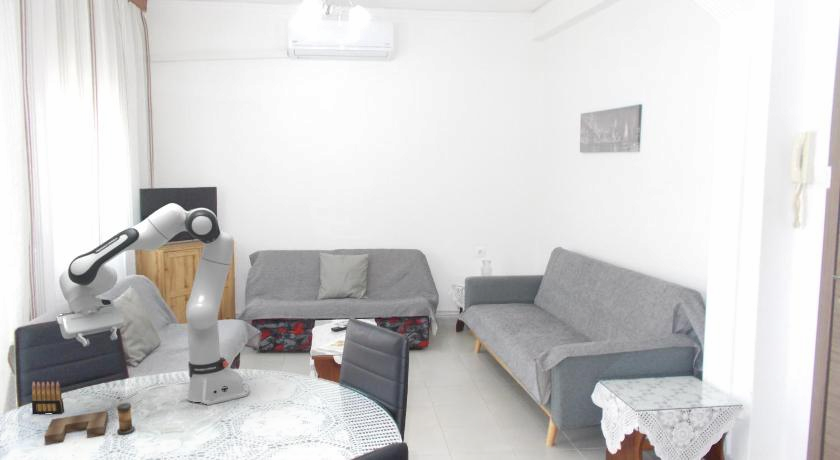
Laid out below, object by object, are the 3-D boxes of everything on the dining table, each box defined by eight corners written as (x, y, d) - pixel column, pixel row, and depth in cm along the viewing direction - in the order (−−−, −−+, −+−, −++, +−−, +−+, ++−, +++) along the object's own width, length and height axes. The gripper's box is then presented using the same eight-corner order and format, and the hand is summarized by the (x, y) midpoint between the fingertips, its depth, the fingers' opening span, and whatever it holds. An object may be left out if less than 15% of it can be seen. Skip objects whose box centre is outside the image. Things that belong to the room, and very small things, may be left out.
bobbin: (135, 427, 212) (132, 401, 211) (134, 433, 207) (132, 407, 206) (118, 429, 210) (115, 404, 209) (116, 436, 206) (114, 409, 204)
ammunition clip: (32, 414, 225) (29, 382, 224) (35, 412, 227) (32, 380, 225) (61, 414, 225) (58, 382, 223) (64, 412, 226) (61, 380, 225)
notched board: (108, 418, 219) (107, 410, 219) (104, 435, 206) (103, 426, 206) (52, 427, 213) (51, 419, 213) (45, 444, 200) (44, 436, 200)
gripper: (57, 309, 208) (72, 343, 203) (117, 299, 224) (132, 330, 220) (51, 320, 211) (66, 354, 206) (111, 309, 228) (126, 340, 223)
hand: (101, 342), depth 213 cm, fingers open, 8 cm apart
